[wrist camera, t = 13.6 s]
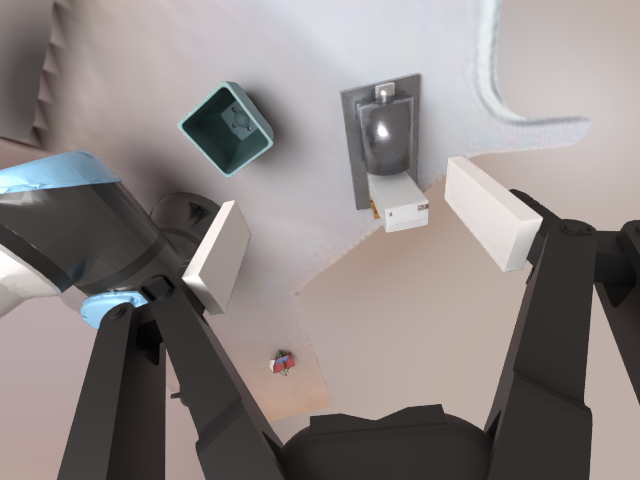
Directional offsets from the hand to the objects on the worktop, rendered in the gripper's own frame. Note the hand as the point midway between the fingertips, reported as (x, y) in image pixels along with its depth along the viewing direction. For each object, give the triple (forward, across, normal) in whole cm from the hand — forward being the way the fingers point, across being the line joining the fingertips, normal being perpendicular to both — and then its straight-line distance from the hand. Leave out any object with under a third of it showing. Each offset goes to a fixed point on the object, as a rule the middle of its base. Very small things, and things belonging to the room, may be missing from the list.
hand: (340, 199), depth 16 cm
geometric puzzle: (+29, -27, -68) cm, 79 cm away
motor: (+29, +8, -8) cm, 31 cm away
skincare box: (+27, +8, -13) cm, 31 cm away
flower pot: (+29, -13, +1) cm, 32 cm away
